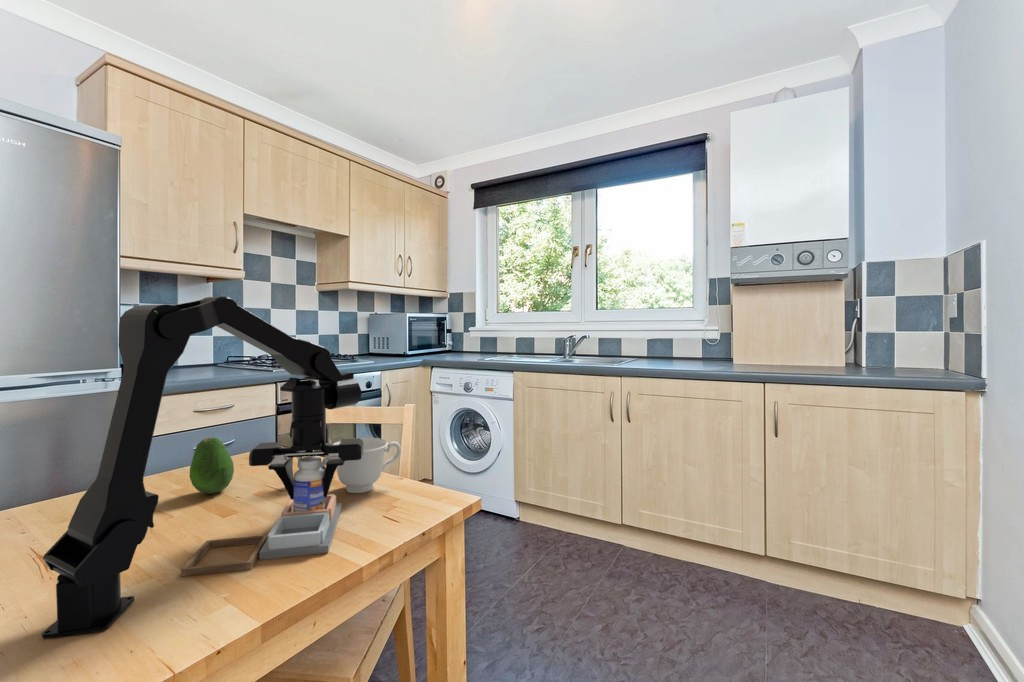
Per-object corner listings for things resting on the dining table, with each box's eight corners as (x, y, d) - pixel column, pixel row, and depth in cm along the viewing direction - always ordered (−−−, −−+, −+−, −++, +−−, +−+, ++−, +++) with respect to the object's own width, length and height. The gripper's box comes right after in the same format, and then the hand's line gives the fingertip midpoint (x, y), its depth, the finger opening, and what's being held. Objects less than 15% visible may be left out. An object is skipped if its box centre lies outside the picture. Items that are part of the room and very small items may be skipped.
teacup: (405, 492, 101) (404, 447, 100) (331, 502, 95) (330, 453, 95) (397, 475, 112) (397, 434, 111) (330, 483, 106) (330, 440, 106)
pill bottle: (313, 518, 83) (313, 464, 83) (286, 515, 84) (287, 461, 84) (331, 507, 88) (331, 456, 88) (305, 504, 89) (306, 453, 89)
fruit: (196, 489, 102) (194, 435, 102) (237, 485, 105) (236, 432, 104) (185, 502, 95) (183, 444, 94) (229, 497, 98) (228, 440, 97)
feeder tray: (251, 568, 69) (251, 562, 69) (181, 576, 67) (180, 569, 67) (268, 540, 78) (268, 534, 78) (206, 546, 76) (206, 540, 76)
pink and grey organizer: (328, 552, 74) (327, 533, 74) (259, 559, 72) (259, 539, 72) (341, 508, 92) (341, 492, 92) (286, 513, 89) (286, 497, 89)
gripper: (365, 404, 95) (365, 479, 96) (265, 407, 91) (266, 486, 92) (360, 414, 85) (361, 499, 85) (247, 419, 80) (248, 508, 81)
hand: (309, 497), depth 86 cm, fingers closed on pill bottle, 5 cm apart
